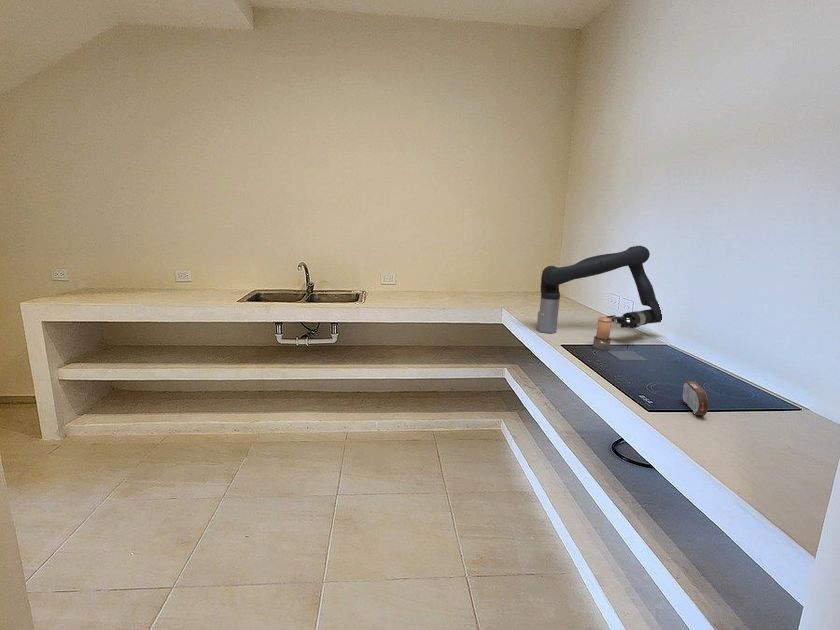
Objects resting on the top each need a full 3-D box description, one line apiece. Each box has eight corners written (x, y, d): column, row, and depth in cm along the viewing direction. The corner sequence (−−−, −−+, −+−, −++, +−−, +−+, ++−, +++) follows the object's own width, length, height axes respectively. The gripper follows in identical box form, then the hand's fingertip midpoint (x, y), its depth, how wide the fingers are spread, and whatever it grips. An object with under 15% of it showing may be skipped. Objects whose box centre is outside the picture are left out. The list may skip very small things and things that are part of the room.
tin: (706, 420, 147) (711, 395, 145) (695, 419, 148) (700, 394, 146) (688, 400, 162) (693, 377, 160) (678, 399, 162) (682, 376, 160)
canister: (596, 350, 214) (598, 340, 213) (590, 345, 221) (591, 335, 220) (612, 350, 214) (613, 340, 213) (605, 345, 221) (606, 336, 220)
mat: (620, 360, 201) (620, 359, 201) (607, 351, 212) (607, 350, 212) (647, 361, 202) (647, 360, 202) (633, 352, 213) (633, 351, 213)
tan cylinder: (598, 341, 214) (601, 320, 211) (593, 337, 219) (596, 316, 217) (611, 341, 214) (614, 320, 212) (605, 338, 220) (608, 317, 217)
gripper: (621, 308, 233) (600, 312, 224) (648, 315, 221) (628, 318, 212) (619, 323, 234) (598, 327, 225) (646, 330, 223) (626, 334, 214)
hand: (613, 323), depth 219 cm, fingers open, 8 cm apart
